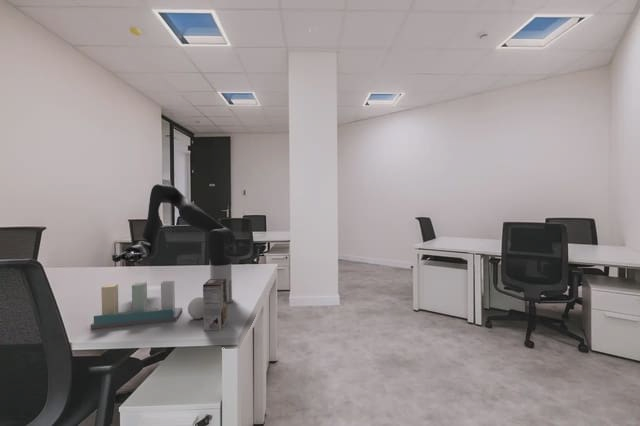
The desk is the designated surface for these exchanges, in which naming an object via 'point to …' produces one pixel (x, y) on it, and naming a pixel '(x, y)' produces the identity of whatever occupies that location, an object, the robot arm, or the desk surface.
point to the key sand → (110, 299)
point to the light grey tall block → (167, 295)
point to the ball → (196, 308)
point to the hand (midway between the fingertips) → (120, 259)
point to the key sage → (139, 297)
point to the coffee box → (215, 304)
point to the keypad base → (135, 318)
